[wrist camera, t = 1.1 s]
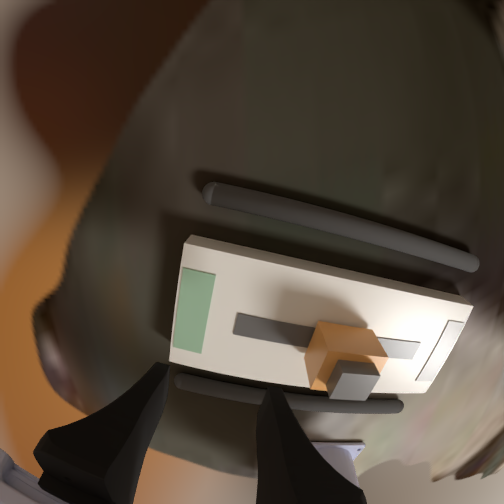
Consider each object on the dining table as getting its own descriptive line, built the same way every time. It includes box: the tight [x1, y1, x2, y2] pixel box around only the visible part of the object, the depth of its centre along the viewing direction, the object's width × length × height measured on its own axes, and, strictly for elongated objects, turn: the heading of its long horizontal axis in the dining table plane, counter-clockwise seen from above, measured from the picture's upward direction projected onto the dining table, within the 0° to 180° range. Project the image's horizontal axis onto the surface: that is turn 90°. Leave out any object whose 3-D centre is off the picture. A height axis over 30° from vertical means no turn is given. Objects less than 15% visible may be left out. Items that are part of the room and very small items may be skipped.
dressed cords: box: [174, 182, 479, 414], centre depth 20 cm, size 16×21×1 cm
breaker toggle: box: [304, 321, 389, 401], centre depth 16 cm, size 3×4×4 cm
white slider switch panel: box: [169, 235, 473, 393], centre depth 20 cm, size 9×22×2 cm, turn 77°
